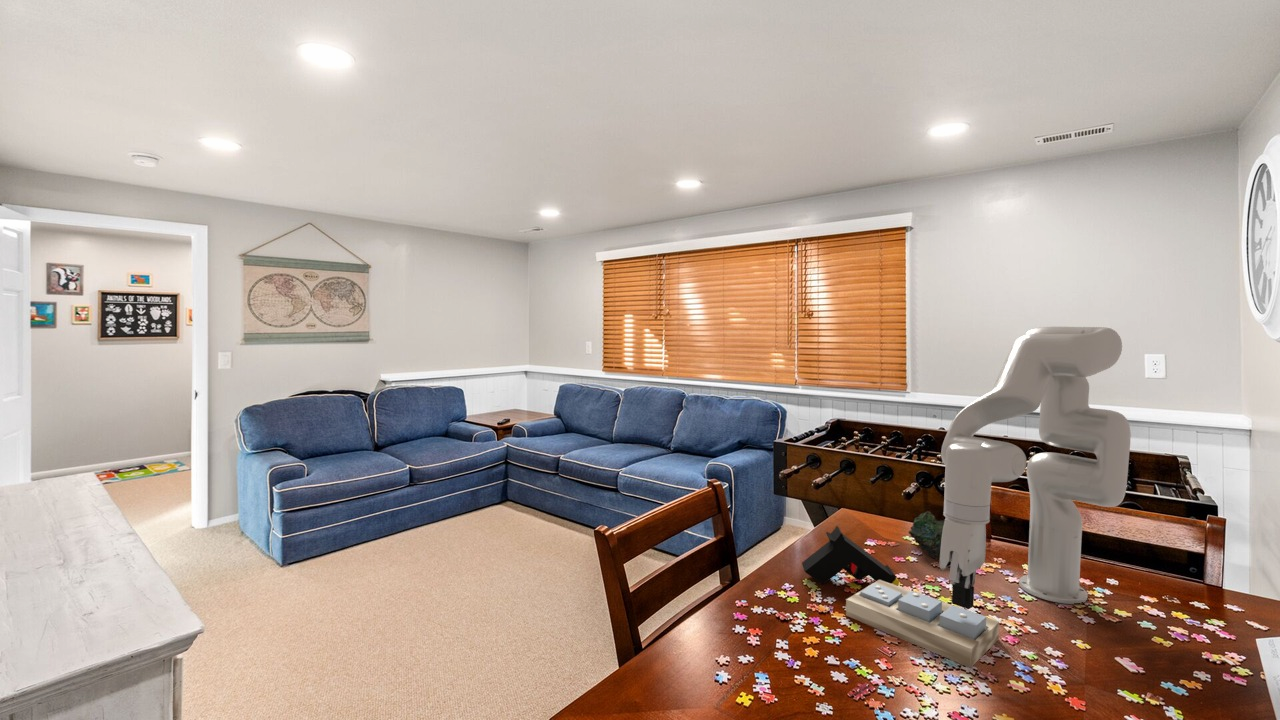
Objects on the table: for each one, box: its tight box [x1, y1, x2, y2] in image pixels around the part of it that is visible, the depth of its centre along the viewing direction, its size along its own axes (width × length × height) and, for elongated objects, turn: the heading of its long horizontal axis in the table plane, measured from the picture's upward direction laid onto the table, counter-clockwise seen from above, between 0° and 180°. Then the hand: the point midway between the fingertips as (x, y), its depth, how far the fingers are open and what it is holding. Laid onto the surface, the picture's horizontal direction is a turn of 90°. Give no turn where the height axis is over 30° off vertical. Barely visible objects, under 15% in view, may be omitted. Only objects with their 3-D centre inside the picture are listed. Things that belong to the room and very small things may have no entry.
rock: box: [908, 510, 945, 561], centre depth 152 cm, size 14×11×10 cm
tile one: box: [940, 604, 987, 640], centre depth 109 cm, size 6×6×3 cm
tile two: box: [898, 590, 943, 623], centre depth 115 cm, size 6×6×3 cm
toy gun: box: [801, 525, 900, 586], centre depth 135 cm, size 5×18×12 cm
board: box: [845, 580, 1000, 669], centre depth 115 cm, size 14×24×4 cm, turn 40°
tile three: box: [860, 582, 902, 607], centre depth 121 cm, size 6×6×3 cm
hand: (962, 605), depth 109 cm, fingers closed
